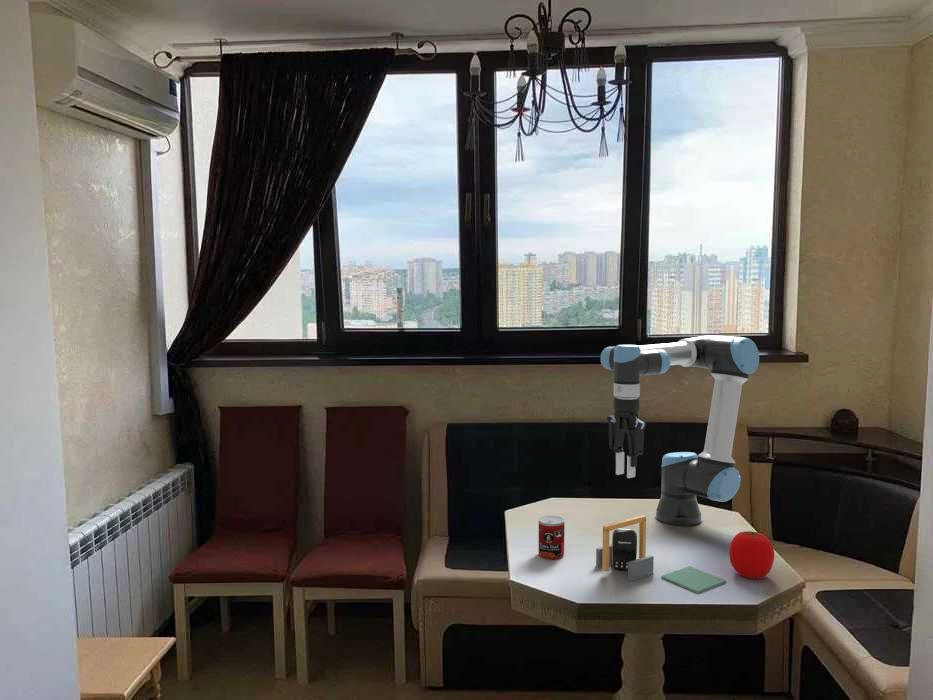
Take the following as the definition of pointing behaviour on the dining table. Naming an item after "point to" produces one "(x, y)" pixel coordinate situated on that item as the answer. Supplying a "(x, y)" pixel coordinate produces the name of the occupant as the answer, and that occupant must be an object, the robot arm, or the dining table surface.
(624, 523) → the arched handle
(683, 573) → the mat
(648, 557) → the clip
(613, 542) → the battery charger
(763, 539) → the tomato
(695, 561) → the dining table surface
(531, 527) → the dining table surface
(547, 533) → the canned food
